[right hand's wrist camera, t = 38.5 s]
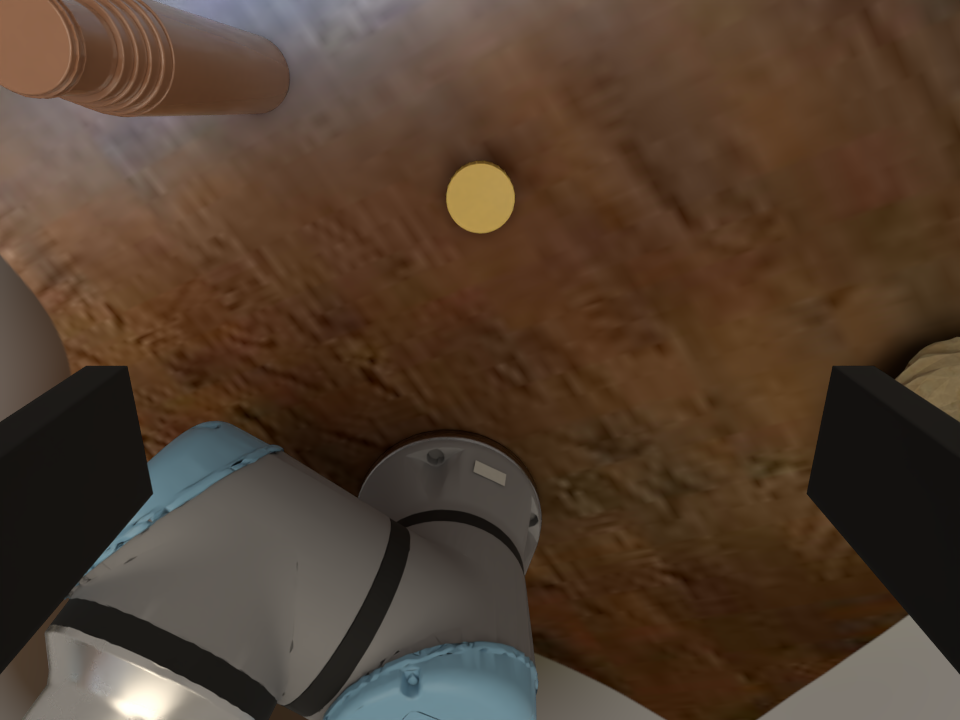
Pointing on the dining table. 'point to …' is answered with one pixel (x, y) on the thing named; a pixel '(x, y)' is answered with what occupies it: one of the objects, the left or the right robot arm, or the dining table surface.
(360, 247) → the dining table surface
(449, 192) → the cap
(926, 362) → the fossil
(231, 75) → the bottle
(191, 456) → the right robot arm
